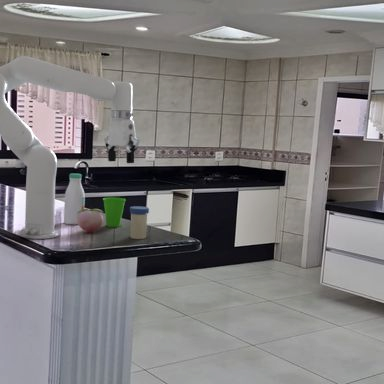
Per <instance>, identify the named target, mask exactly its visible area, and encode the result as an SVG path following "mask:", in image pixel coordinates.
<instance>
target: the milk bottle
mask: <svg viewBox="0 0 384 384" xmlns="http://www.w3.org/2000/svg"><path fill="white" fill-rule="evenodd" d="M68 175H69V176H68V177H69V182H68V185H67V188H66V189H65V192H64V208H63V209H64V210H63V223H64V224H67V225H79V224H78V216H79V214H80V213H81V212H82V211H81V212H79V211H80V210H82V209H85V204H86V202H85V201H86V198H85V197H86V196H85V191H84V188H83V185H82V176H83V175H82V174H81V173H70V174H68ZM78 212H79V213H78Z"/></svg>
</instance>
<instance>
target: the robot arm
mask: <svg viewBox="0 0 384 384" xmlns="http://www.w3.org/2000/svg"><path fill="white" fill-rule="evenodd" d="M26 83H28V84H32V85H34V86H40V87H42V88H47V89H50V90H54V91H57V92H62V93H74V94H80V95H83V96H88V97H90V98H91V99H92V100H94V101H96V102H104V101H106V102H107V101H110V121H109V126H108V135H107V136H106V137H104V139H103V140H104V144H105V147H106V150H107V161H108V162H116V160H117V150H116V148H117V147H120V148H123V147H124V148H125V149H126V150H127V152H126V164H134V163H135V153H136V152H137V149H138V146H139V144H140V140H139V139H137V138H136V127H135V121H134V120H133V117H134V114H133V84H132V83H131V82H128V81H112V80H110V79H108V78H106V77H101V76H98V75H95V74H92V73H88V72H84V71H80V70H77V69H73V68H70V67H67V66H61V65H59V64H55V63H52V62H49V61H46V60H42V59H39V58H35V57H31V56H27V55H21V56H17V57H16V58H15V59H13V60H11V61H9V62H7V63H5V64H4V65H1V66H0V137H1V140H2V141H3V143H4V144H5V145H6V146H7V147H8V148H9V149H10V151H12V153H13V154H14V155H15V156H16V157H17V158H18V159H19V160H20V161H21V163H23V164H24V165H25V166H26V179H25V180H26V181H25V182H26V183H25V214H24V215H25V216H24V217H25V219H24V220H25V222H24V228H22V229H20V231H19V236H20V237H21V238H24V239H32V240H38V239H39V240H45V239H46V240H47V239H54V238H57V237H59V232H58V231H57V230H55V209H56V208H55V206H56V205H55V204H56V177H57V169H58V159H57V156H56V153H55V152H54V151H53V150H52V149H51V148H49V147H48V146H46V145H44V144H43V143H42V142H41V140H40V139H39V138H38V137H37V136H36V135H35V133H34V131H33V130H32V128H31V127H30V126H29V125H28V124H27V123H26V122H25V121H24V120H23V119H22V118H21V117H20V116H19V115H18V114H17V113H16V111H15V110H14V109H13V108H12V107H11V106H10V104H9V103H8V101H7V100H6V93H8V92H10V91H13V90H15V89H16V88H17V89H18V87H20V86H23V85H25V84H26Z"/></svg>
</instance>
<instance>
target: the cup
mask: <svg viewBox="0 0 384 384" xmlns="http://www.w3.org/2000/svg"><path fill="white" fill-rule="evenodd" d="M102 200H103V207H104V216H105V224H106V227H107V228H120V226H121V222H122V217H123V213H124V206H125V203H126V201H127V200H126V198H121V197H104V198H102Z"/></svg>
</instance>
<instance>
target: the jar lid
mask: <svg viewBox="0 0 384 384" xmlns="http://www.w3.org/2000/svg"><path fill="white" fill-rule="evenodd" d="M129 213H130V214H131V213H132V214H147V215H148V214H149V213H150V208H149V207H147V206H139V205H137V206H136V205H134V206H130V207H129Z"/></svg>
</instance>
